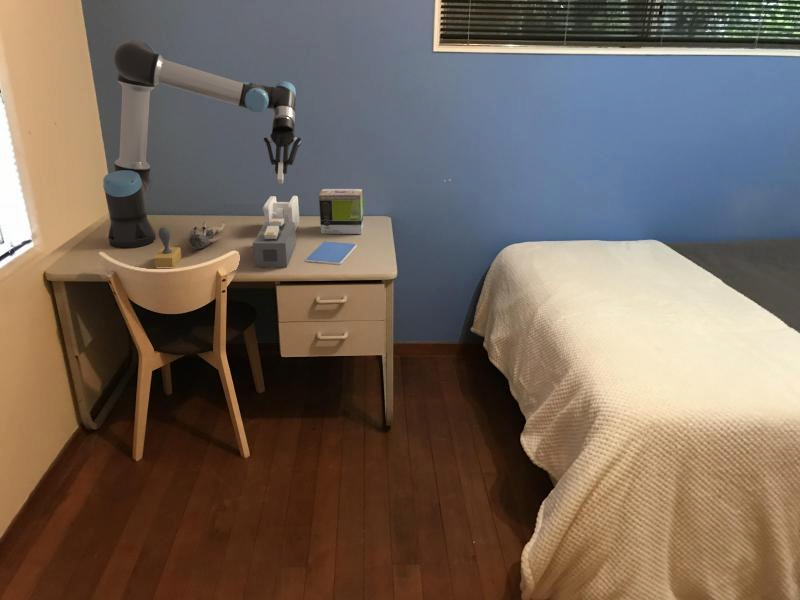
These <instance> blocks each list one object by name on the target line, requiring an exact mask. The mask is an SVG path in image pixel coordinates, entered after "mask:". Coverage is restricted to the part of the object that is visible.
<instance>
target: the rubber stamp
mask: <svg viewBox="0 0 800 600" xmlns="http://www.w3.org/2000/svg"><path fill="white" fill-rule="evenodd" d="M158 237H159V240H160V241H161V242H162V245H163V247H162V248H161V249H160V250H159V251H158V253H157V254H156V255H155V256H154V257H153V263H154V268H155V267H174V266H175V265H176V266H177V264H178V263H179V262H178V261H180V260H181V259H182V257H183V256H182V249H181V247H178V246H176V247H175V246H174V247H170V246H169V242H170V240H171V232H170V229H169V228H168V227H166V226H162V227H160V228H159V229H158ZM177 262H178V263H177ZM176 266H175V267H176ZM175 267H174V268H175Z"/></svg>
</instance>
